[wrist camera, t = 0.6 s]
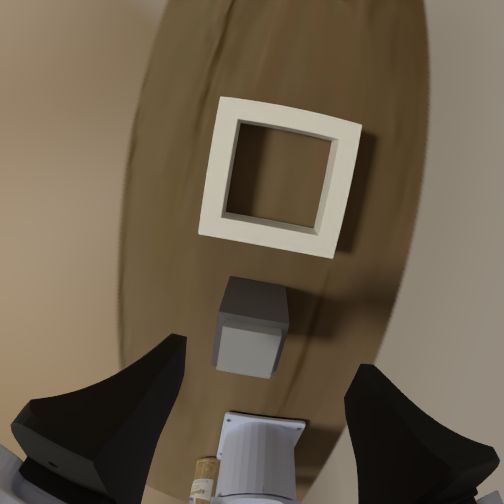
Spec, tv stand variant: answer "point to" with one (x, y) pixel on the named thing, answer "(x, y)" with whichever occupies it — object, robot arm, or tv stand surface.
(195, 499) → the sprinkles bottle
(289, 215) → the tv stand surface
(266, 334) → the stepped grey plug block
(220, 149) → the socket block
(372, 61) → the tv stand surface
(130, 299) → the tv stand surface
